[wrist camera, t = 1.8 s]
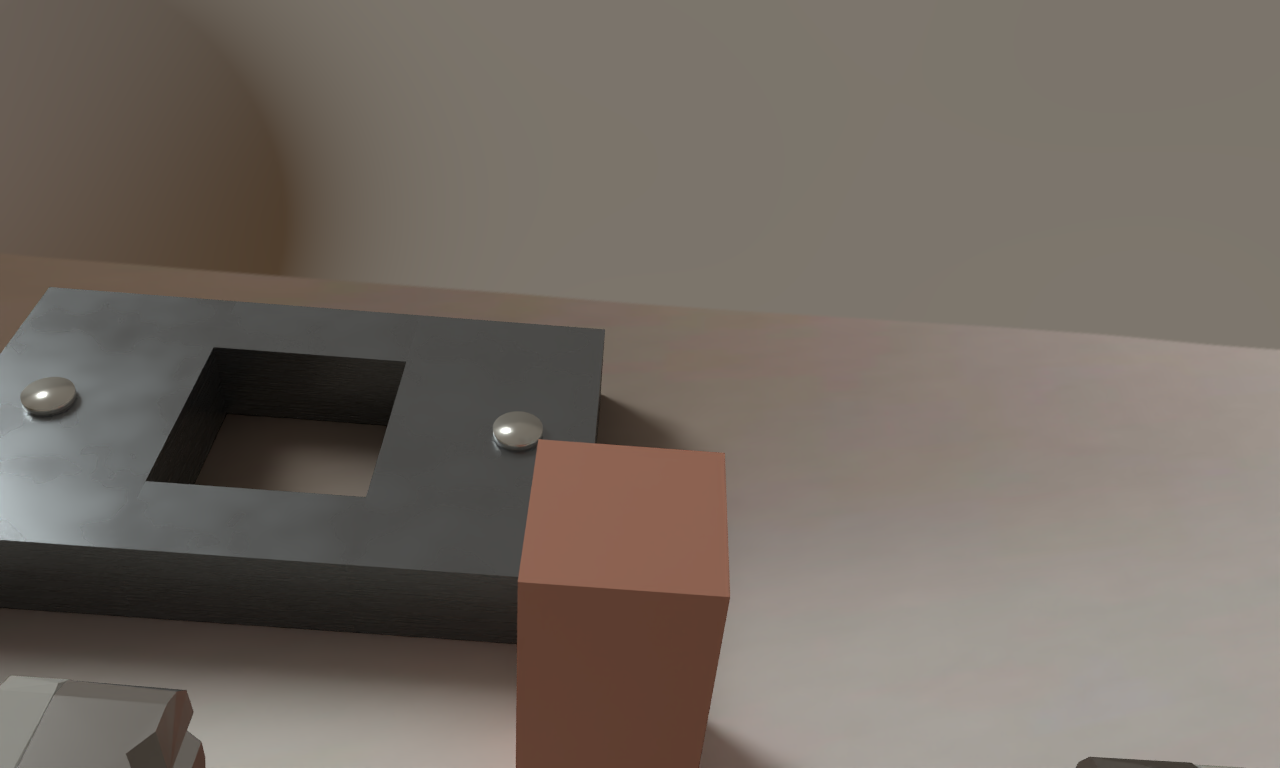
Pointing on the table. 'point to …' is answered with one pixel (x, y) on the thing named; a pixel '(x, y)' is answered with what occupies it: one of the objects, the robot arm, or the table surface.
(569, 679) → the square peg
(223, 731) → the table surface
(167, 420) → the block with square hole
